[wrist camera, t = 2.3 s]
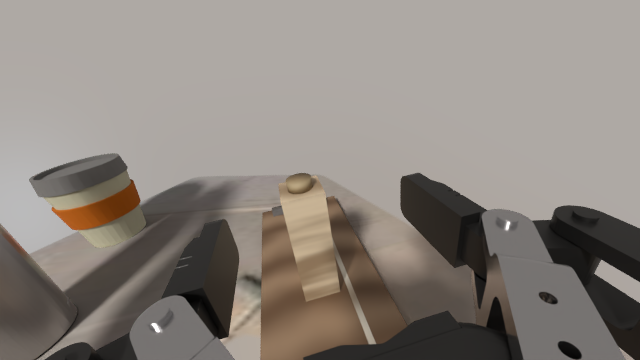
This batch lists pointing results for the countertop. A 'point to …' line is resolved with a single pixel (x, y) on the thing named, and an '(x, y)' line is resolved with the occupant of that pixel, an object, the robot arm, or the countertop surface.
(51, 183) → the reusable coffee cup
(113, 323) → the countertop surface
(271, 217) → the walnut board
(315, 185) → the wooden pepper mill
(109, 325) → the countertop surface
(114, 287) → the countertop surface
